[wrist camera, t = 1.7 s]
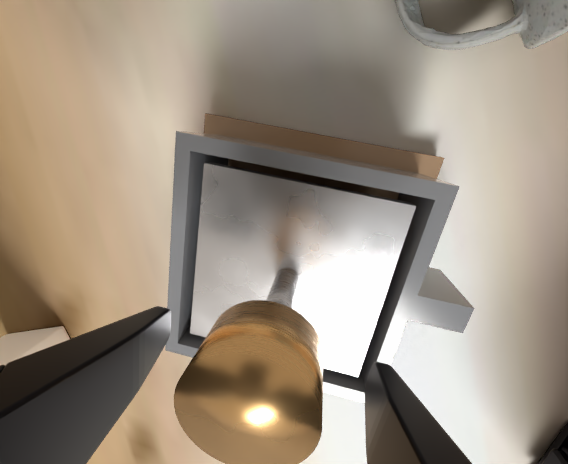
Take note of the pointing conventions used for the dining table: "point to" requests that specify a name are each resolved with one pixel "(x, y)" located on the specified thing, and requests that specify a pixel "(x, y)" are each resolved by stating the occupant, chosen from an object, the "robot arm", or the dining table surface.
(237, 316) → the plunger
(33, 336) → the milk
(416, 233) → the grey square tray
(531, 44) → the ceramic mug
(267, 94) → the dining table surface
